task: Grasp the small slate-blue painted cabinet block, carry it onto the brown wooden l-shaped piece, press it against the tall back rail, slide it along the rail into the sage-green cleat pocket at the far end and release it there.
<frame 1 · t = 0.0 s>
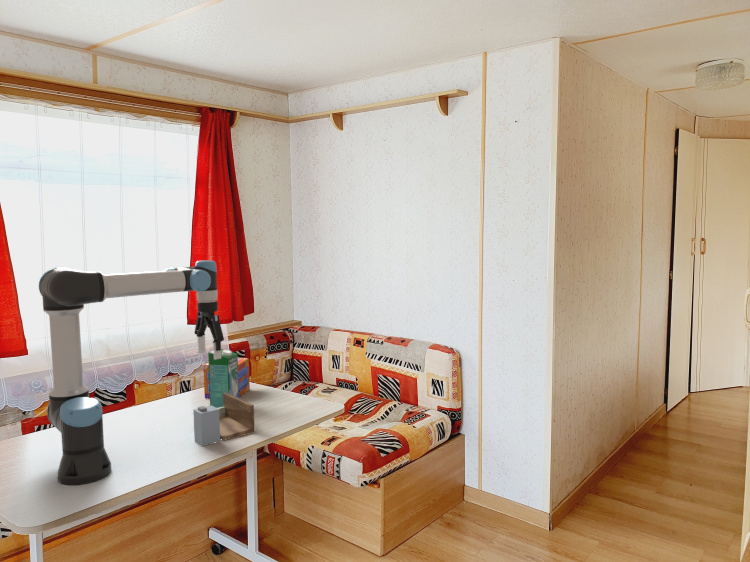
hand: (209, 356, 221), 28 cm above the table, fingers open, 13 cm apart
milk carton: (224, 407, 248), on the table
brown wooden l-shaped piece: (225, 428, 222), on the table
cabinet: (207, 441, 209), on the table
game box: (227, 394, 267), on the table
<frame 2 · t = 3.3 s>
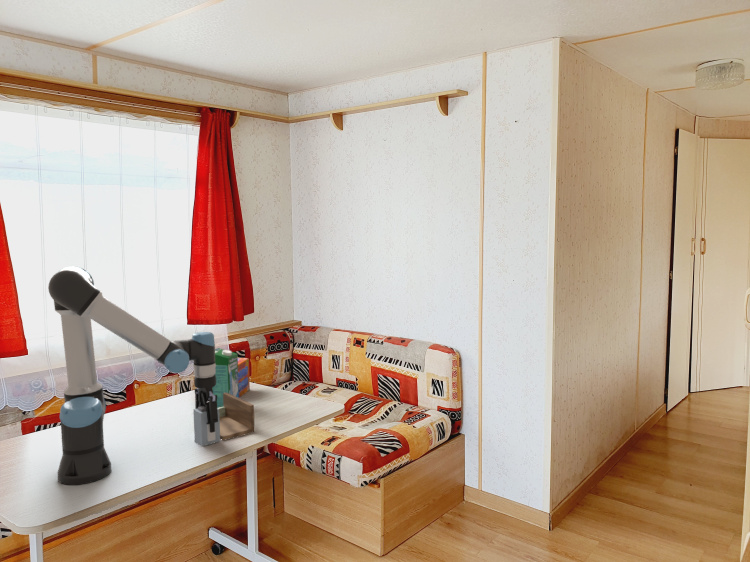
hand: (207, 437, 208), 1 cm above the table, fingers closed on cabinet, 6 cm apart
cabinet: (207, 441, 209), on the table, touching gripper
everything else where it was.
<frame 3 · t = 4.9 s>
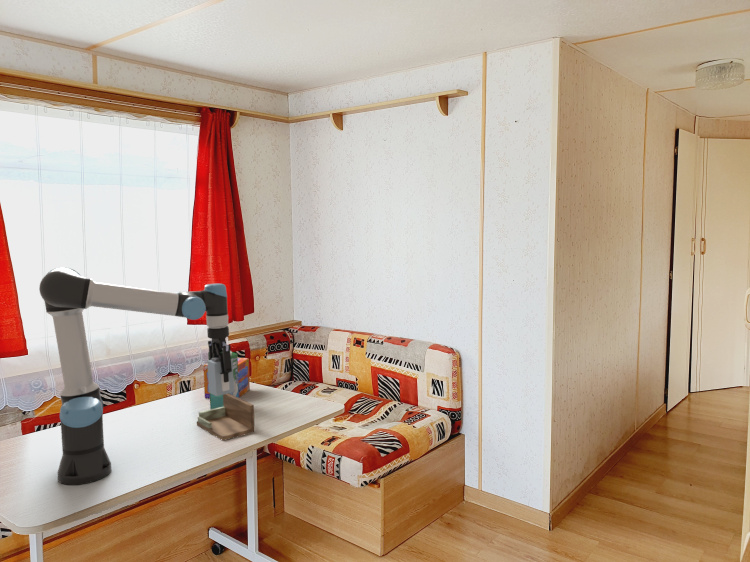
hand: (221, 388, 211), 18 cm above the table, fingers closed on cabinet, 6 cm apart
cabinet: (221, 392, 211), point 17 cm above the table, touching gripper
everything else where it was.
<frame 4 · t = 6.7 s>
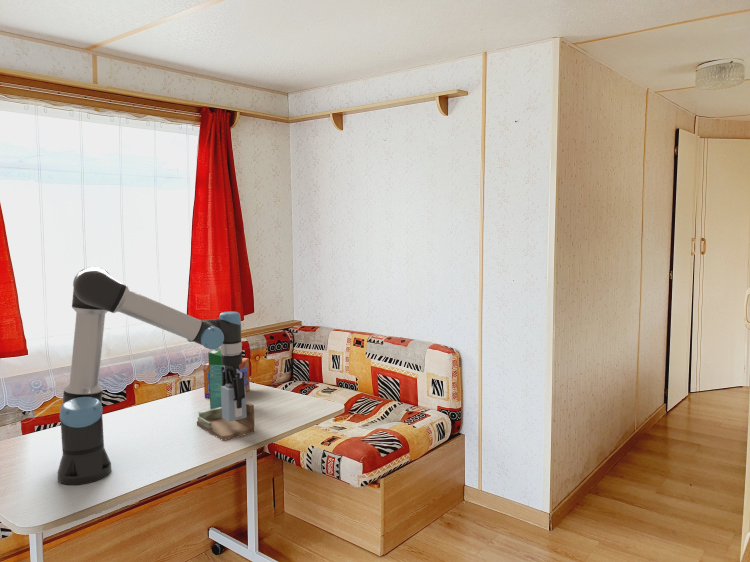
hand: (234, 413, 216), 7 cm above the table, fingers closed on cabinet, 6 cm apart
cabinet: (234, 417, 216), point 6 cm above the table, touching gripper
everything else where it was.
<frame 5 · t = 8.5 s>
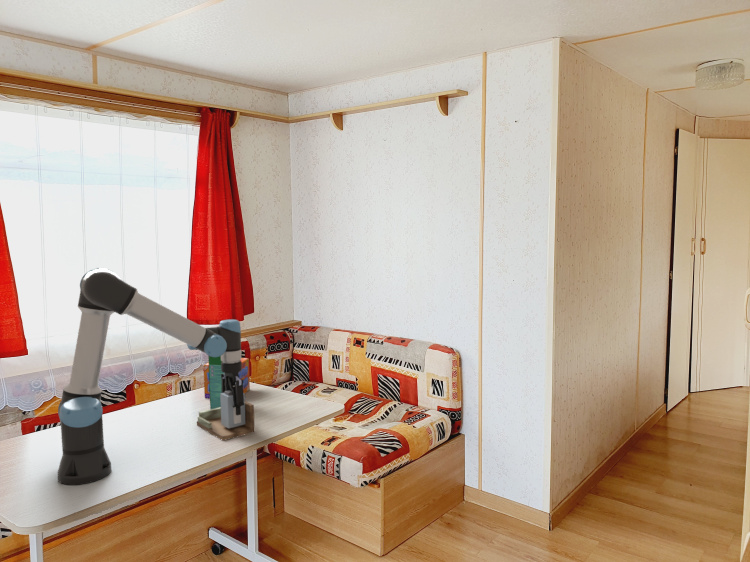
hand: (233, 420, 219), 4 cm above the table, fingers closed on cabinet, 6 cm apart
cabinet: (233, 424, 219), point 3 cm above the table, touching gripper
everything else where it was.
when the fingers open (4 cm above the table, at t = 10.1 s): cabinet drops 1 cm, resting on brown wooden l-shaped piece.
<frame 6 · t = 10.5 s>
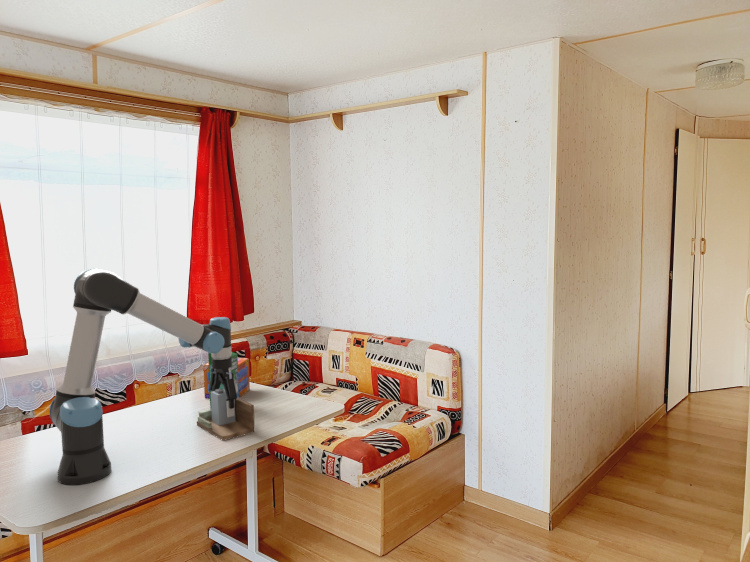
hand: (223, 412, 224), 5 cm above the table, fingers open, 11 cm apart
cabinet: (223, 421, 225), point 1 cm above the table, touching brown wooden l-shaped piece
everything else where it was.
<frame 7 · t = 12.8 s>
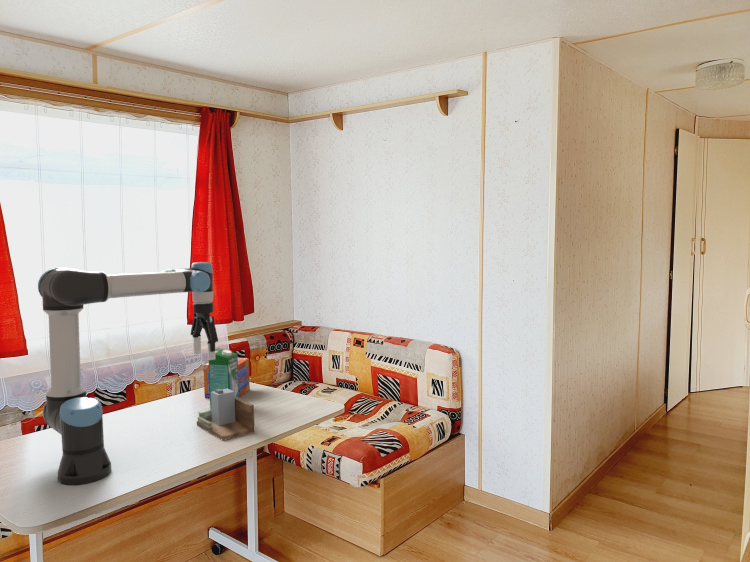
hand: (204, 356, 224), 27 cm above the table, fingers open, 13 cm apart
nothing on the table moved.
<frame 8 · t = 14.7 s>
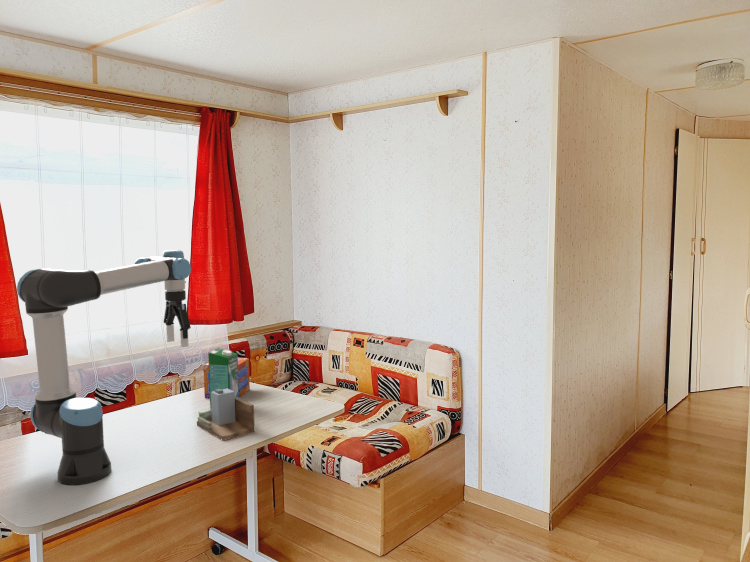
hand: (177, 344, 226), 32 cm above the table, fingers open, 13 cm apart
nothing on the table moved.
at the end: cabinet inside the target area (0.3 cm from its centre), point 1.5 cm above the table; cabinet tilted 0°; the gripper is holding nothing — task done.
